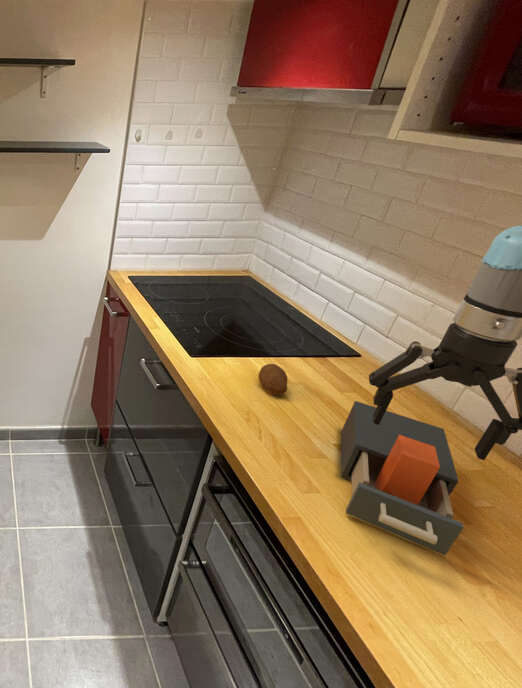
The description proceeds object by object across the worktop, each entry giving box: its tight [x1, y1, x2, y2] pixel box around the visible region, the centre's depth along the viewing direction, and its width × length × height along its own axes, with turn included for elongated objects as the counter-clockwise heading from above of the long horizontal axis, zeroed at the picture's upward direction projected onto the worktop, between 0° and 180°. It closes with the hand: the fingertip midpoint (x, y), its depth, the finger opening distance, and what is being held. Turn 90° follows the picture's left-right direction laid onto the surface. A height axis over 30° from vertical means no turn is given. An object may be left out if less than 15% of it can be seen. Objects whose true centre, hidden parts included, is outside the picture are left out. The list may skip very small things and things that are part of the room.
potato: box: [258, 363, 288, 395], centre depth 117 cm, size 7×10×6 cm
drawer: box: [345, 450, 465, 557], centre depth 81 cm, size 20×14×7 cm
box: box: [375, 435, 440, 505], centre depth 82 cm, size 5×6×12 cm
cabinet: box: [340, 400, 460, 497], centre depth 92 cm, size 17×15×9 cm
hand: (425, 436), depth 78 cm, fingers open, 13 cm apart
